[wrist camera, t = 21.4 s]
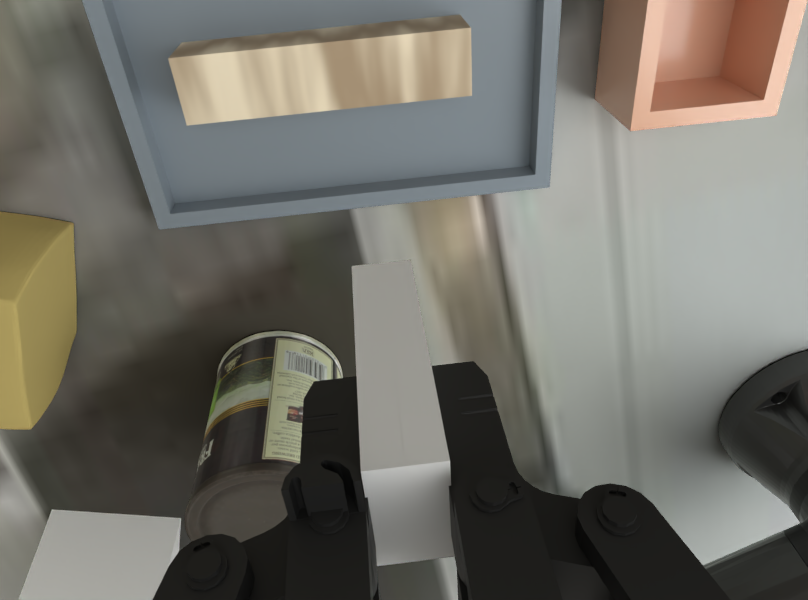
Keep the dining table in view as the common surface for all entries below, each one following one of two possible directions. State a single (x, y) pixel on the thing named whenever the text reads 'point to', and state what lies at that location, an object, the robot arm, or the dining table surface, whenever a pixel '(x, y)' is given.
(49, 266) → the cheese
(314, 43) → the light wooden bar
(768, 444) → the robot arm
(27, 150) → the dining table surface
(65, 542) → the milk
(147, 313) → the dining table surface
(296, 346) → the coffee can
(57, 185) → the dining table surface
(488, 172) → the slate tray
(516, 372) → the dining table surface
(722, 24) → the pink open cubby
